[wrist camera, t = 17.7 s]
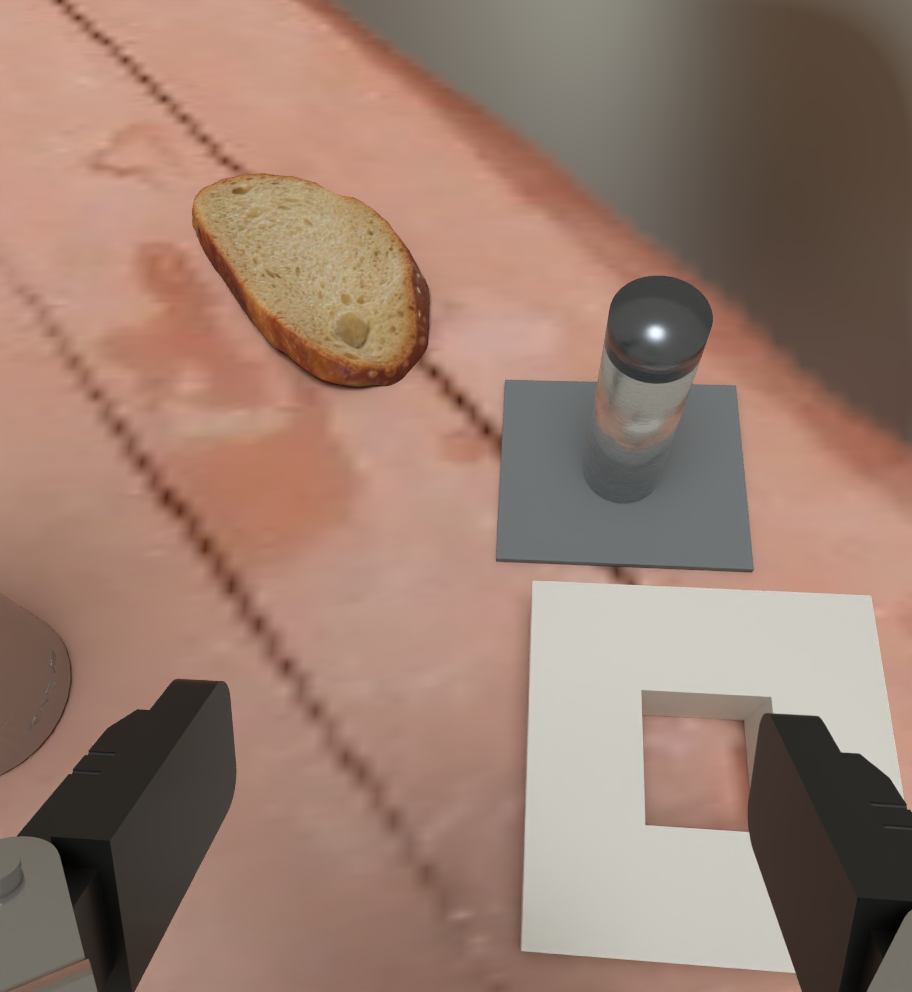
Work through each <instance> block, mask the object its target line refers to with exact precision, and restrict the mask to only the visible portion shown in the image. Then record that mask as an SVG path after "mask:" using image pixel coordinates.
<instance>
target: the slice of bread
mask: <svg viewBox="0 0 912 992" xmlns="http://www.w3.org/2000/svg"><path fill="white" fill-rule="evenodd" d="M192 216H193V220H192V224H193V227H194V229H195V230H196V234H197V237H198V239H199V242H200V244H201V246H202V248H203V250H204V252H205V254H206V255H207V257H208V258H209V260H210V261H211V263H212V265H213V266H214V268H215V269H216V271H217V272H218V273H219V274H220V275H221V276H222V278H223V280H224V281H225V283H226V284H227V285H228V287H229V288H230V290H231V291H232V293H233V295H234V296H235V298H236V299H237V301H238V302H239V304H240V305H241V307H242V308H243V310H244V311H245V313H246V314H247V315H248V317H249V318H250V319H251V321H252V322H253V323H254V324H255V326H256V327H257V328H258V329H259V330H260V331H261V332H262V334H263V335H264V336H265V338H266V339H267V340H268V341H269V342H270V343H271V344H272V345H273V346H274V347H275V348H276V349H278V350H280V351H282V352H284V353H285V354H287V355H288V356H289V357H290V358H291V359H292V360H293V361H295V362H296V363H297V364H298V365H300V366H301V367H302V368H303V369H305V370H306V371H308V372H309V373H311V374H312V375H314V376H315V377H317V378H319V379H322V380H324V381H328V382H331V383H335V384H340V385H347V386H355V387H363V386H371V385H384V386H389V385H393V384H395V383H397V382H398V381H400V380H401V379H403V378H404V377H405V375H406V374H407V373H408V372H409V371H410V370H411V368H412V367H413V366H414V365H415V364H416V363H417V362H418V361H419V359H420V358H421V357H422V355H423V354H424V352H425V351H426V349H427V345H428V330H429V304H430V302H429V288H428V285H427V283H426V281H425V279H424V277H423V275H422V274H421V272H420V270H419V268H418V266H417V264H416V262H415V260H414V259H413V257H412V255H411V253H410V251H409V250H408V248H407V247H406V245H405V244H404V243H403V242H402V240H401V239H400V238H399V236H398V235H397V234H396V233H395V232H394V231H393V229H392V228H391V226H390V224H389V223H388V222H387V221H386V220H385V219H384V218H382V217H381V216H380V215H379V214H378V213H377V212H375V211H374V210H373V209H372V208H370V207H369V206H367V205H366V204H364V203H363V202H362V201H360V200H358V199H356V198H353V197H346V196H340V195H337V194H335V193H333V192H331V191H329V190H326V189H324V188H323V187H321V186H320V185H318V184H317V183H314V182H311V181H308V180H304V179H300V178H297V177H293V176H279V175H271V174H265V173H259V174H248V175H241V176H236V177H231V178H226V179H222V180H220V181H218V182H216V183H214V184H212V185H210V186H207V187H205V188H203V189H202V190H201V191H200V192H199V193H198V194H197V195H196V197H195V199H194V202H193V208H192Z"/></svg>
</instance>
